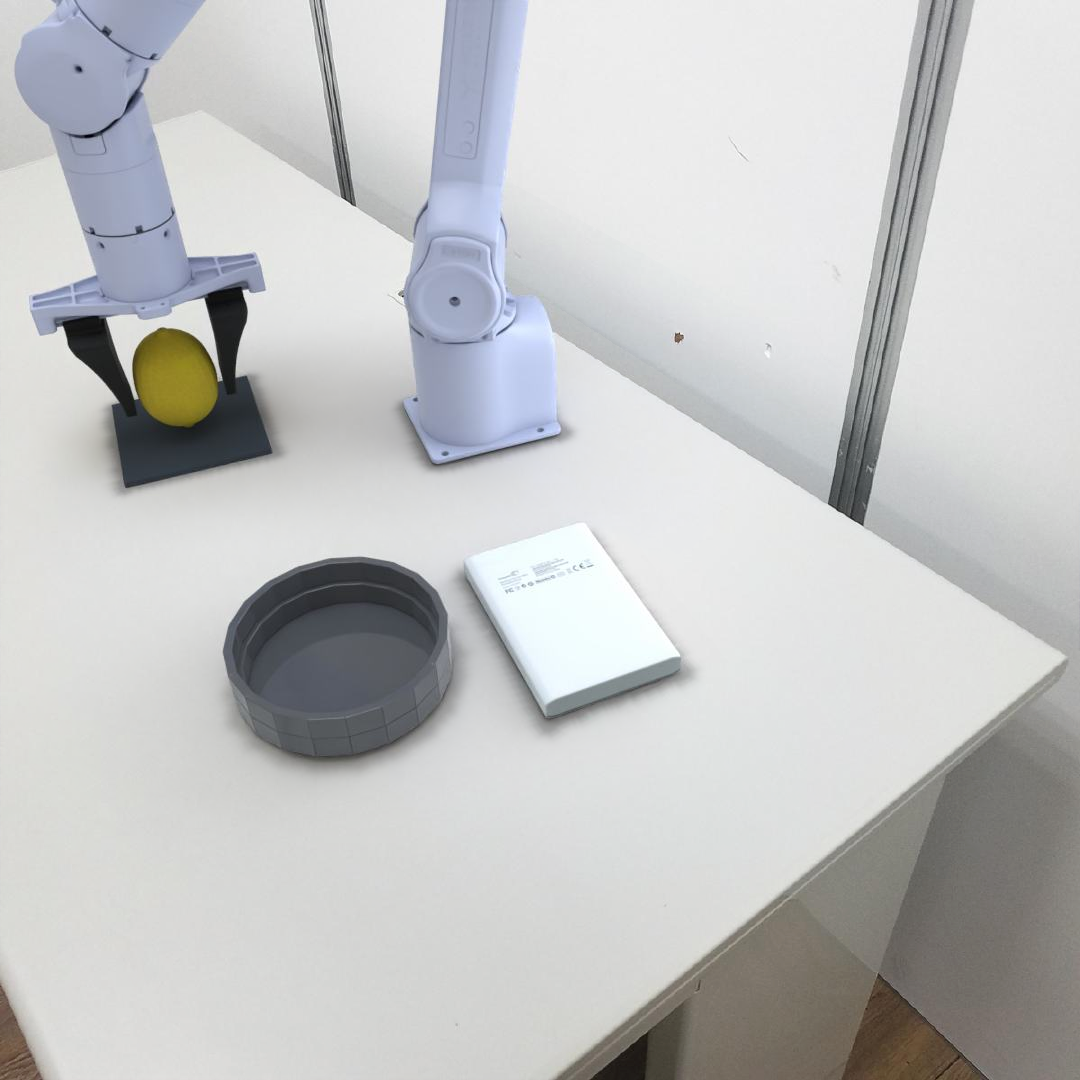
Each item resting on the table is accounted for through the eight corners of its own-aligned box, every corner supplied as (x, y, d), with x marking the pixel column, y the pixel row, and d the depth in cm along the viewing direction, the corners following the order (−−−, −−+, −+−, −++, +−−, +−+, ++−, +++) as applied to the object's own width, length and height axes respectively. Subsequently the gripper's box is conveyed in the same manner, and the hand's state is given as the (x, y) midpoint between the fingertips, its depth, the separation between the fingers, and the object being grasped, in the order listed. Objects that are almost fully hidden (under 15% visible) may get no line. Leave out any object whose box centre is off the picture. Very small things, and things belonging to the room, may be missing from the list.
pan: (418, 577, 68) (412, 535, 66) (480, 720, 60) (477, 678, 57) (221, 631, 65) (208, 589, 63) (257, 790, 57) (244, 748, 54)
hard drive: (545, 722, 59) (464, 575, 68) (680, 673, 62) (585, 537, 70) (544, 702, 58) (462, 556, 67) (682, 653, 61) (585, 518, 69)
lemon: (209, 453, 77) (181, 354, 72) (136, 444, 78) (103, 347, 73) (240, 407, 81) (216, 311, 76) (170, 400, 82) (142, 304, 77)
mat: (247, 379, 85) (246, 375, 84) (272, 453, 78) (271, 448, 77) (112, 409, 82) (111, 404, 82) (125, 488, 75) (123, 483, 75)
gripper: (6, 267, 64) (77, 454, 73) (255, 221, 68) (294, 404, 77) (4, 217, 69) (71, 397, 78) (236, 176, 73) (275, 353, 82)
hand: (180, 397), depth 78 cm, fingers open, 6 cm apart
